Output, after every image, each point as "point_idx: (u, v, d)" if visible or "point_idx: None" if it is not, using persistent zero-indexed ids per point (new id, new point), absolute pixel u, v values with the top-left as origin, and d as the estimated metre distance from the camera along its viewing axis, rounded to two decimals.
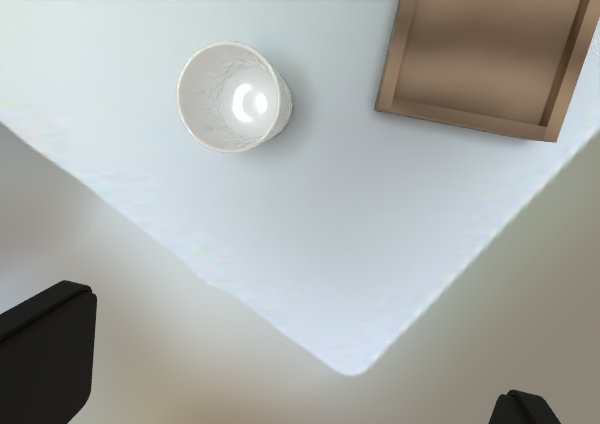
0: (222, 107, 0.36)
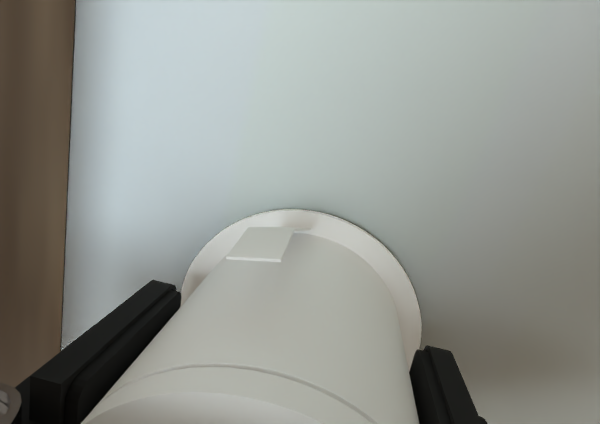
0: None
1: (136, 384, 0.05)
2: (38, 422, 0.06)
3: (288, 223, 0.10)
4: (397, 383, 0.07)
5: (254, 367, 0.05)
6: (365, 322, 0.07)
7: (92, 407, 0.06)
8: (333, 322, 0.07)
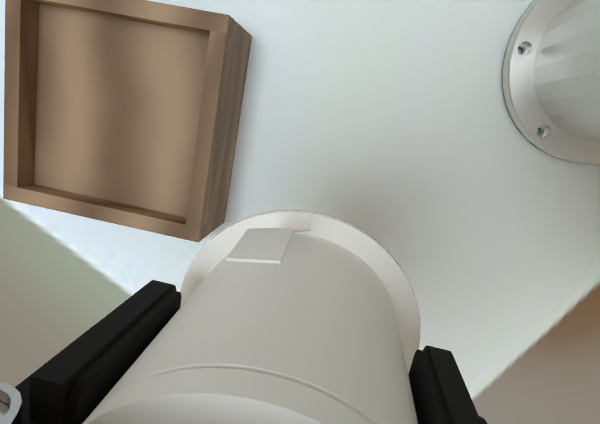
0: None
1: (137, 385, 0.05)
2: (38, 422, 0.06)
3: (287, 224, 0.11)
4: (396, 383, 0.07)
5: (254, 368, 0.05)
6: (364, 323, 0.07)
7: (92, 407, 0.06)
8: (333, 324, 0.07)
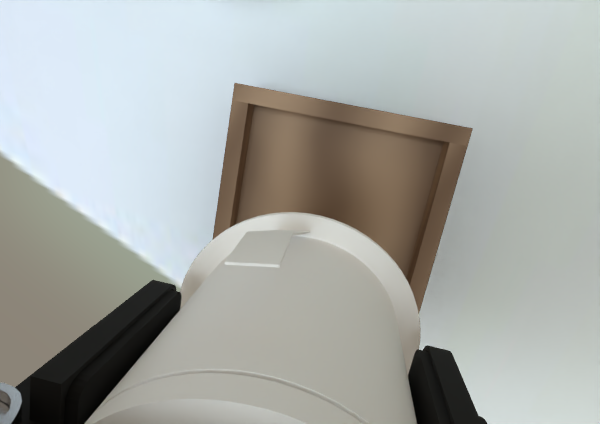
0: None
1: (135, 390, 0.05)
2: (38, 422, 0.06)
3: (287, 226, 0.10)
4: (396, 388, 0.07)
5: (253, 373, 0.05)
6: (364, 326, 0.07)
7: (92, 407, 0.06)
8: (332, 327, 0.07)
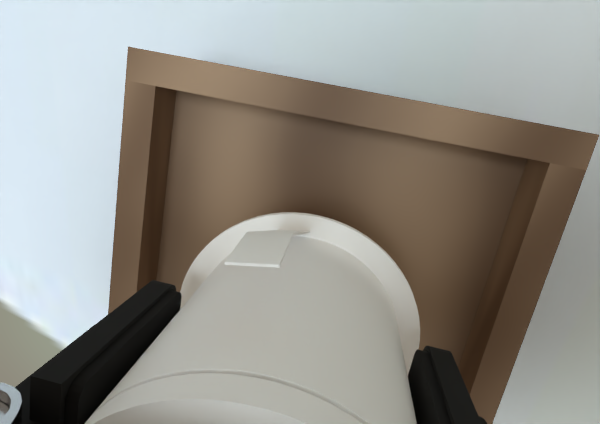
0: None
1: (135, 390, 0.05)
2: (38, 422, 0.06)
3: (287, 226, 0.10)
4: (395, 388, 0.07)
5: (253, 373, 0.05)
6: (363, 326, 0.07)
7: (92, 407, 0.06)
8: (332, 327, 0.07)
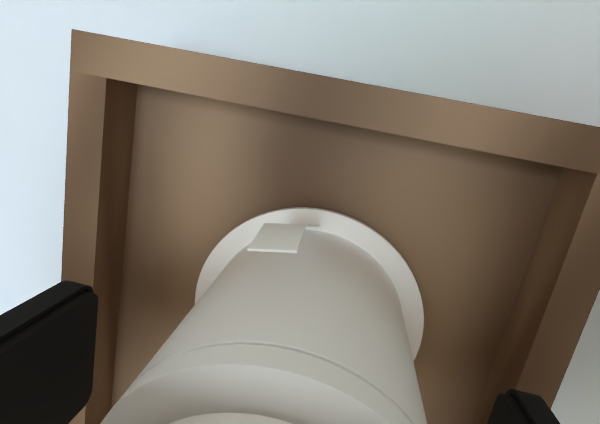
0: None
1: (171, 360, 0.06)
2: None
3: (298, 220, 0.11)
4: (402, 362, 0.07)
5: (276, 344, 0.06)
6: (372, 309, 0.08)
7: None
8: (343, 308, 0.07)
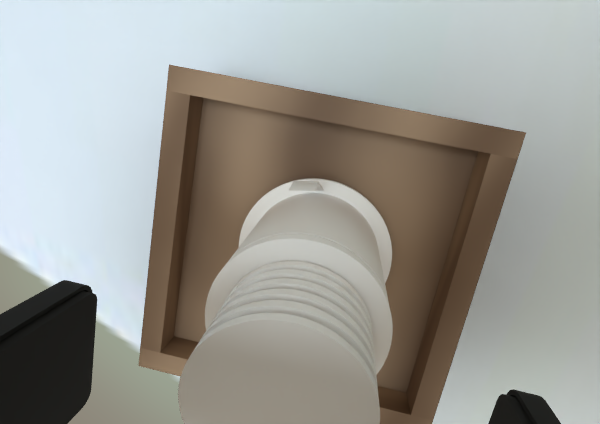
0: None
1: (253, 243, 0.12)
2: None
3: None
4: (371, 254, 0.13)
5: (306, 233, 0.12)
6: (356, 230, 0.14)
7: None
8: (339, 226, 0.13)
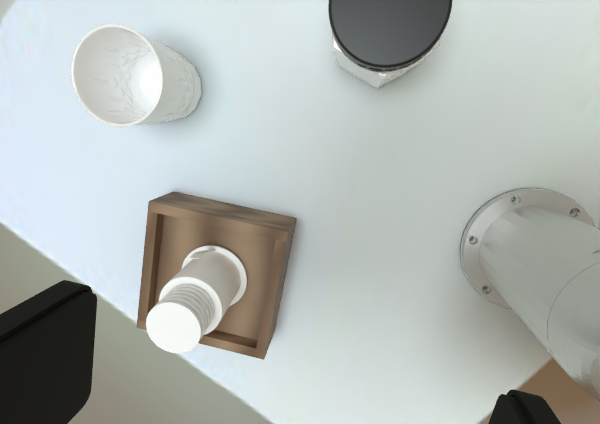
0: None
1: (175, 277, 0.35)
2: None
3: (209, 249, 0.40)
4: (221, 281, 0.36)
5: (192, 274, 0.35)
6: (219, 271, 0.37)
7: None
8: (210, 270, 0.36)
